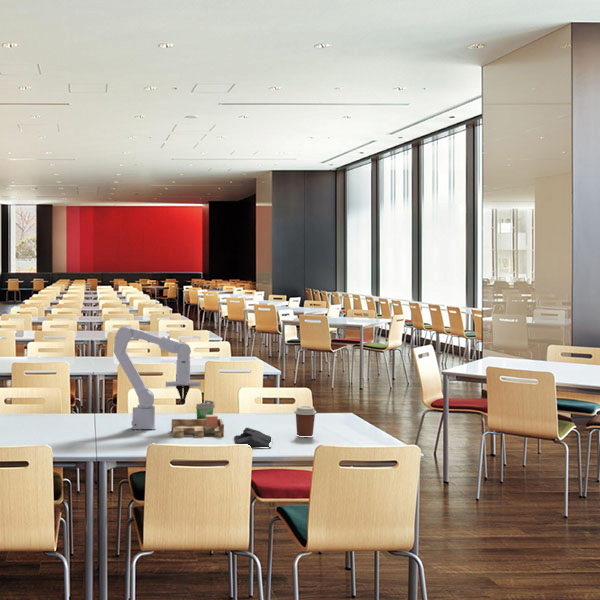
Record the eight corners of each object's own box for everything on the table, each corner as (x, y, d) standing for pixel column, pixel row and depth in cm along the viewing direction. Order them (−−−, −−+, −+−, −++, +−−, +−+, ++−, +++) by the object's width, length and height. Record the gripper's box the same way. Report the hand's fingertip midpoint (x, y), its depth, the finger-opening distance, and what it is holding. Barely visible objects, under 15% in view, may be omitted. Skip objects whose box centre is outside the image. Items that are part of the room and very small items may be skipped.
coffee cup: (290, 435, 343) (290, 406, 343) (310, 433, 347) (311, 405, 347) (298, 439, 335) (299, 409, 335) (319, 438, 339) (320, 408, 338)
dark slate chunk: (231, 449, 314) (232, 437, 314) (234, 438, 336) (234, 426, 336) (272, 450, 315) (273, 437, 315) (272, 439, 337) (272, 427, 336)
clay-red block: (206, 427, 342) (206, 416, 342) (205, 425, 347) (205, 414, 346) (217, 427, 343) (217, 416, 343) (216, 425, 347) (216, 414, 347)
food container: (209, 428, 354) (210, 404, 354) (195, 427, 356) (196, 404, 355) (218, 423, 367) (218, 400, 366) (204, 422, 368) (205, 400, 368)
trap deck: (172, 437, 333) (172, 424, 333) (171, 431, 346) (171, 419, 346) (223, 436, 336) (223, 424, 336) (221, 430, 349) (221, 418, 349)
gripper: (165, 372, 348) (165, 405, 348) (201, 372, 350) (200, 404, 350) (165, 370, 355) (165, 402, 355) (200, 370, 357) (199, 402, 357)
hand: (182, 403), depth 353 cm, fingers closed
